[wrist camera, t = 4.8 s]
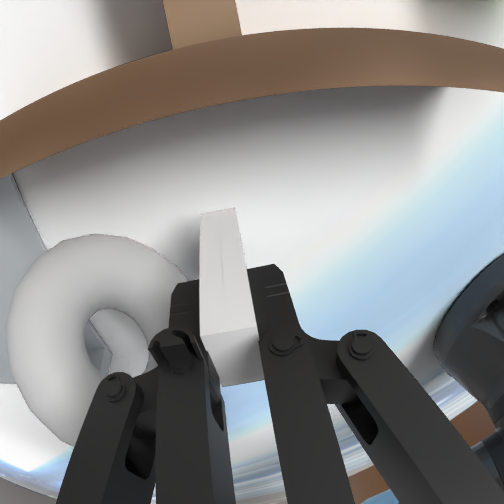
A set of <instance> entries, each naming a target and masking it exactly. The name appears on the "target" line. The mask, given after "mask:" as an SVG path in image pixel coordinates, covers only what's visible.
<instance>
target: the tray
mask: <svg viewBox="0 0 504 504" xmlns="http://www.w3.org/2000/svg"><path fill="white" fill-rule="evenodd" d="M45 252H47V249H46V247H45V245H44V243H43V241H42V239H41V237H40V235H39V233H38V231H37V229H36V227H35V225H34V223H33V221H32V219H31V217H30V215H29V212H28V210H27V208H26V206H25V204H24V201H23V199H22V197H21V195H20V192H19V190H18V187H17V185H16V183H15V180H14V178H13V175H12V173H11V174H9V175H7V176H5V177H3V178H1V179H0V383H4V384H16V382H15V379H14V377H13V375H12V373H11V371H10V365H9V358H8V350H7V342H6V332H5V327H6V322H7V317H8V313H9V308H10V304H11V300H12V296H13V292H14V290H15V288H16V287H17V285H18V284H19V282H20V281H21V279H22V278H23V276H24V275H25V273H26V272H27V270H28V269H29V268H30V266H31V265H32V263H33V262H34V261H35V260H36V258H38V257H39V256H41V255H42V254H44V253H45ZM84 339H85V345H86V350H87V353H88V355H89V357H90V359H91V361H92V363H93V364H94V366H95V367H96V368H97V369H98V370H99V371H100V372H101V373H102V374H103V375H105V376H106V377H107V376H108V372H109V366H110V361H111V356H112V352H111V351H110V350H109V348H108V347H107V346H106V344H105V343H104V341H103V340H102V339H101V337H100V336H99V334H98V333H97V331H96V330H95V328H94V327H93V326H92V324H91V323H90V321H89V320H88V322H87V324H86V328H85V335H84Z"/></svg>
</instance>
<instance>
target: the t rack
mask: <svg viewBox="0 0 504 504" xmlns="http://www.w3.org/2000/svg"><path fill="white" fill-rule="evenodd" d="M163 4H164V9H165V14H166V19H167V24H168V29H169V33H170V38H171V43H172V48H173V50H170V51H166V52H162V53H159V54H155V55H152V56H148V57H145V58H142V59H138V60H135V61H132V62H129V63H126V64H123V65H120V66H117V67H114V68H111V69H109V70H106V71H103V72H101V73H98V74H95V75H93V76H90V77H88V78H85V79H83V80H80V81H78V82H76V83H73V84H71V85H69V86H67V87H64V88H62V89H60V90H58V91H56V92H53V93H51V94H49V95H47V96H45V97H43V98H41V99H39V100H37V101H35V102H33V103H31V104H29V105H27V106H25V107H24V108H22V109H20V110H18V111H16V112H15V113H13V114H11V115H9V116H7V117H6V118H4V119H2V120H1V121H0V179H1V178H3V177H5V176H7V175H9V174H11V173H13V172H15V171H17V170H19V169H21V168H24V167H26V166H28V165H30V164H32V163H35V162H37V161H39V160H41V159H44V158H46V157H48V156H51V155H53V154H56V153H58V152H61V151H63V150H66V149H68V148H71V147H73V146H76V145H79V144H81V143H84V142H87V141H89V140H92V139H95V138H98V137H101V136H104V135H107V134H110V133H113V132H116V131H119V130H122V129H125V128H128V127H131V126H135V125H138V124H141V123H145V122H148V121H152V120H156V119H159V118H163V117H167V116H170V115H174V114H178V113H182V112H186V111H191V110H195V109H199V108H204V107H208V106H213V105H218V104H223V103H228V102H233V101H239V100H244V99H250V98H256V97H262V96H269V95H276V94H283V93H291V92H299V91H308V90H318V89H329V88H342V87H359V86H395V85H407V86H441V87H457V88H470V89H480V90H489V91H497V92H504V49H502V48H499V47H495V46H491V45H487V44H483V43H478V42H474V41H469V40H464V39H459V38H454V37H448V36H442V35H436V34H429V33H421V32H412V31H402V30H390V29H372V28H315V29H297V30H285V31H274V32H265V33H257V34H250V35H243V36H242V34H241V29H240V23H239V18H238V13H237V8H236V3H235V0H163Z"/></svg>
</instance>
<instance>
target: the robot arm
mask: <svg viewBox="0 0 504 504" xmlns="http://www.w3.org/2000/svg"><path fill="white" fill-rule="evenodd" d="M170 306H171V307H170V316H169V327H168V328H167V329H163V330H162V331H160V332H159V333H157V334H156V335H155V336H154V337H153V339H152V340H151V341H150V344H149V347H148V350H149V352H150V353H151V355H152V356H153V358H154V360H155V361H156V363H157V364H158V366H157V367H155V368H154V369H152V370H150V371H149V372H146V373H144V374H141V375H139V376H137V377H134V378H132V377H131V376H130V375H129V374H126V373H123V372H116V373H113V374H110V375H108V376H107V377H105V378H104V379H103V380H102V381H101V382H100V384H99V386H98V387H97V389H96V392H95V394H94V397H93V399H92V402H91V404H90V407H89V409H88V412H87V414H86V417H85V420H84V422H83V425H82V428H81V430H80V433H79V436H78V438H77V441H76V444H75V447H74V449H73V452H72V455H71V458H70V461H69V464H68V467H67V470H66V473H65V476H64V479H63V482H62V485H61V488H60V492H59V495H58V498H57V502H56V504H150V503H151V499H152V495H153V491H154V487H155V482H156V504H236V501H235V493H234V485H233V477H232V469H231V461H230V452H229V443H228V434H227V425H226V415H225V405H224V400H223V397H222V395H221V392H220V383H221V385H222V387H226V386H232V385H238V384H244V383H250V382H256V381H261V380H265V384H266V390H267V395H268V401H269V406H270V412H271V417H272V423H273V428H274V433H275V439H276V444H277V450H278V455H279V460H280V465H281V471H282V476H283V481H284V487H285V492H286V497H287V502H288V504H355V502H354V498H353V494H352V491H351V487H350V484H349V480H348V476H347V473H346V469H345V465H344V462H343V458H342V455H341V451H340V448H339V444H338V441H337V437H336V434H335V430H334V427H333V423H332V420H331V417H330V413H329V410H328V406H327V404H335V405H336V407H337V408H338V410H339V411H340V413H341V414H342V416H343V418H344V419H345V421H346V422H347V424H348V425H349V427H350V428H351V430H352V431H353V433H354V434H355V436H356V438H357V439H358V441H359V442H360V444H361V445H362V447H363V448H364V450H365V451H366V453H367V454H368V456H369V457H370V459H371V461H372V462H373V464H374V465H375V466H376V468H377V470H378V471H379V473H380V474H381V476H382V477H383V479H384V480H385V482H386V483H387V485H388V486H389V488H390V489H389V490H387V491H385V492H383V493H380V494H378V495H376V496H374V497H371V498H369V499H367V500H366V501H364V502H363V503H362V504H504V254H503V255H502V256H501V257H499V258H498V259H497V260H495V261H494V262H493V263H492V264H490V265H489V266H488V267H487V268H486V269H485V270H484V271H483V272H482V273H481V274H480V275H479V276H478V277H477V278H476V279H475V280H474V281H473V282H472V283H471V284H470V285H469V286H468V287H467V288H466V290H465V291H464V292H463V293H462V294H461V296H460V297H459V298H458V299H457V301H456V302H455V303H454V305H453V306H452V308H451V309H450V310H449V312H448V313H447V315H446V317H445V318H444V320H443V322H442V324H441V326H440V328H439V330H438V332H437V335H436V338H435V342H434V352H435V355H436V356H437V358H438V360H439V362H440V364H441V365H442V367H443V369H444V370H445V372H446V373H447V374H448V375H449V376H452V377H453V378H454V379H455V380H456V381H457V382H458V383H459V384H460V385H461V386H462V387H463V388H465V389H466V390H467V391H468V392H469V393H470V394H471V395H472V396H474V397H475V398H476V399H477V400H478V401H479V402H480V403H481V404H483V405H484V407H485V408H486V410H487V412H488V414H489V416H490V417H491V420H492V422H493V424H494V426H495V429H496V431H495V432H494V433H492V434H491V435H489V436H488V437H486V438H485V439H483V440H482V441H480V442H479V443H477V444H475V445H474V446H472V447H471V448H470V447H469V445H468V444H467V443H466V441H465V440H464V439H463V437H462V436H461V435H460V434H459V432H458V431H457V430H456V429H455V427H454V426H453V425H452V423H451V422H450V421H449V420H448V418H447V417H446V416H445V415H444V413H443V412H442V411H441V410H440V408H439V407H438V406H437V405H436V403H435V402H434V401H433V400H432V398H431V397H430V396H429V395H428V393H427V392H426V391H425V390H424V389H423V387H422V386H421V385H420V384H419V383H418V381H417V380H416V379H415V378H414V376H413V375H412V374H411V373H410V372H409V370H408V369H407V368H406V367H405V366H404V364H403V363H402V362H401V361H400V360H399V359H398V357H397V356H396V355H395V354H394V353H393V351H392V350H391V349H390V348H389V347H388V346H387V344H386V343H385V342H384V341H383V340H382V339H381V338H380V337H379V336H378V335H377V334H375V333H373V332H371V331H368V330H355V331H351V332H348V333H347V334H346V335H344V336H343V337H342V338H341V339H340V341H330V340H319V339H316V338H313V337H311V336H309V335H307V334H306V333H305V332H304V331H303V330H302V329H301V327H300V325H299V322H298V318H297V315H296V312H295V309H294V306H293V302H292V299H291V296H290V293H289V290H288V287H287V284H286V280H285V277H284V274H283V272H282V271H281V270H280V269H279V268H278V267H277V266H276V265H275V264H271V265H266V266H261V267H256V268H251V269H247V266H246V260H245V255H244V250H243V245H242V240H241V235H240V230H239V225H238V220H237V215H236V210H235V207H234V208H229V209H224V210H219V211H214V212H209V213H204V214H200V267H199V279H198V280H192V281H187V282H182V283H177V285H176V287H175V289H174V290H173V292H172V294H171V303H170Z"/></svg>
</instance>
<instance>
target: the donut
mask: <svg viewBox="0 0 504 504" xmlns="http://www.w3.org/2000/svg"><path fill="white" fill-rule="evenodd" d="M187 281H188V279H187V278H186V277H185V276H184V275H183V274H182V272H181V271H180V270H179V269H178V267H177V266H175V265H174V264H173V263H171V262H170V261H169V260H167V259H166V258H165V257H163V256H162V255H161V254H160V253H158V252H157V251H156V250H154V249H153V248H151V247H148V246H146V245H144V244H141V243H139V242H136V241H134V240H132V239H129V238H127V237H121V236H112V235H103V234H91V235H86V236H81V237H77V238H73V239H68V240H64V241H62V242H60V243H59V244H57V245H56V246H54V247H53V248H51V249H50V250H48V251H47V252H45V253H44V254H42V255H41V256H39V257H38V258H36V260H35V261H34V262H33V263H32V265H31V266H30V268H29V269H28V270H27V272H26V273H25V275H24V276H23V278H22V279H21V281H20V282H19V284H18V285H17V287H16V288H15V290H14V292H13V296H12V300H11V304H10V308H9V313H8V317H7V322H6V327H5V332H6V342H7V350H8V358H9V365H10V371H11V373H12V375H13V377H14V379H15V382H16V384H17V386H18V388H19V390H20V392H21V394H22V396H23V398H24V400H25V402H26V404H27V405H28V407H29V409H30V410H31V412H32V413H33V414H34V415H35V416H36V417H37V418H38V419H39V420H40V421H41V422H42V423H43V424H44V425H45V426H46V427H47V428H48V429H49V430H50V431H51V432H52V433H53V434H55V435H56V436H57V437H58V438H59V439H60V440H61V441H63V442H65V443H67V444H69V445H71V446H73V447H75V444H76V441H77V438H78V436H79V433H80V430H81V428H82V425H83V422H84V420H85V417H86V414H87V412H88V409H89V407H90V404H91V402H92V399H93V397H94V394H95V392H96V389H97V387H98V386H99V384H100V382H101V381H102V380H103V379H104V378H105V377H106V376H105V375H103V374H102V373H101V372H100V371H99V370H98V369H97V368H96V367H95V366H94V364H93V363H92V361H91V359H90V357H89V355H88V353H87V350H86V345H85V339H84V335H85V328H86V324H87V322H88V320H89V318H90V317H91V316H92V315H93V314H94V313H95V312H97V311H98V310H101V309H116V310H119V311H122V312H124V313H125V314H127V315H128V316H130V317H131V318H132V319H133V320H134V321H135V322H136V323H137V324H138V325H139V327H140V328H141V330H142V332H143V334H144V336H145V338H146V341H147V345H148V347H149V344H150V341H151V340H152V339H153V337H154V336H155V335H156V334H157V333H159V332H160V331H162V330H163V329H167V328H168V327H169V316H170V307H171V306H170V303H171V294H172V292H173V290H174V289H175V287H176V285H177V283H182V282H187ZM157 366H158V364H157V363H156V361H155V360H154V358H153V356H152V355H151V353H150V352H149V361H148V364H147V366H146V369H145V371H144V372H143V374H144V373H146V372H149V371H150V370H152V369H154V368H155V367H157Z"/></svg>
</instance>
